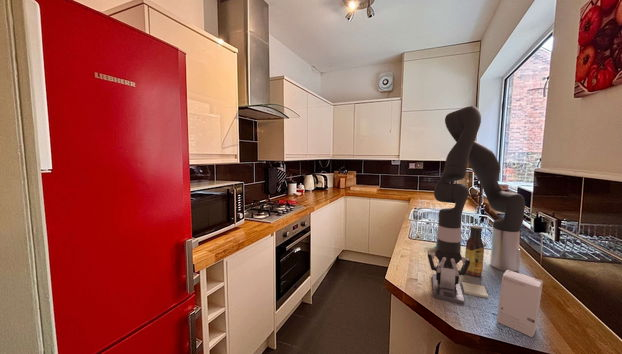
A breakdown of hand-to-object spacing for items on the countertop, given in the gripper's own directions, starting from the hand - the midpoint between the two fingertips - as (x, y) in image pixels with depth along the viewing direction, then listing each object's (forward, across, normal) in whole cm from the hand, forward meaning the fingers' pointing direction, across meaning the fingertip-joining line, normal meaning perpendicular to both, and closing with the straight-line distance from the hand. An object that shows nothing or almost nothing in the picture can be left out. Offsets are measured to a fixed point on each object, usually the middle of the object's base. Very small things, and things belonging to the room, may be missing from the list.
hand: (446, 282), depth 88 cm
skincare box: (+3, -17, +13) cm, 22 cm away
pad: (+3, -9, -3) cm, 10 cm away
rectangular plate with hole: (+3, 0, 0) cm, 3 cm away
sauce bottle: (+3, -11, -18) cm, 21 cm away
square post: (+3, 0, 0) cm, 3 cm away
